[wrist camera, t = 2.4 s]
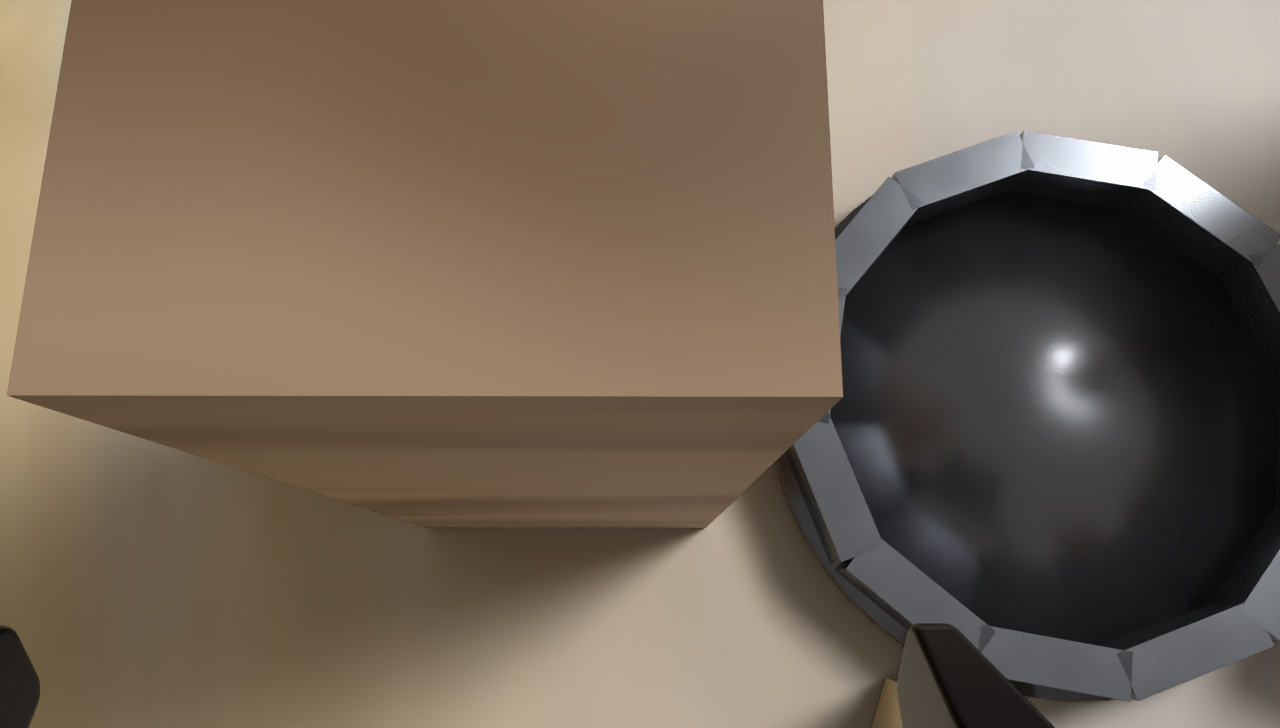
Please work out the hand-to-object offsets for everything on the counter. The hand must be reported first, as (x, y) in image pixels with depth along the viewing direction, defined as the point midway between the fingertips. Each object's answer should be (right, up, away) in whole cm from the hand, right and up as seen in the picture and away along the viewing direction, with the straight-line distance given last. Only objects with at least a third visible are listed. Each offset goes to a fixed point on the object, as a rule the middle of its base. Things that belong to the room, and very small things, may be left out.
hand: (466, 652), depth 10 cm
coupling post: (0, +2, +13) cm, 13 cm away
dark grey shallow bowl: (+11, +2, +13) cm, 17 cm away
